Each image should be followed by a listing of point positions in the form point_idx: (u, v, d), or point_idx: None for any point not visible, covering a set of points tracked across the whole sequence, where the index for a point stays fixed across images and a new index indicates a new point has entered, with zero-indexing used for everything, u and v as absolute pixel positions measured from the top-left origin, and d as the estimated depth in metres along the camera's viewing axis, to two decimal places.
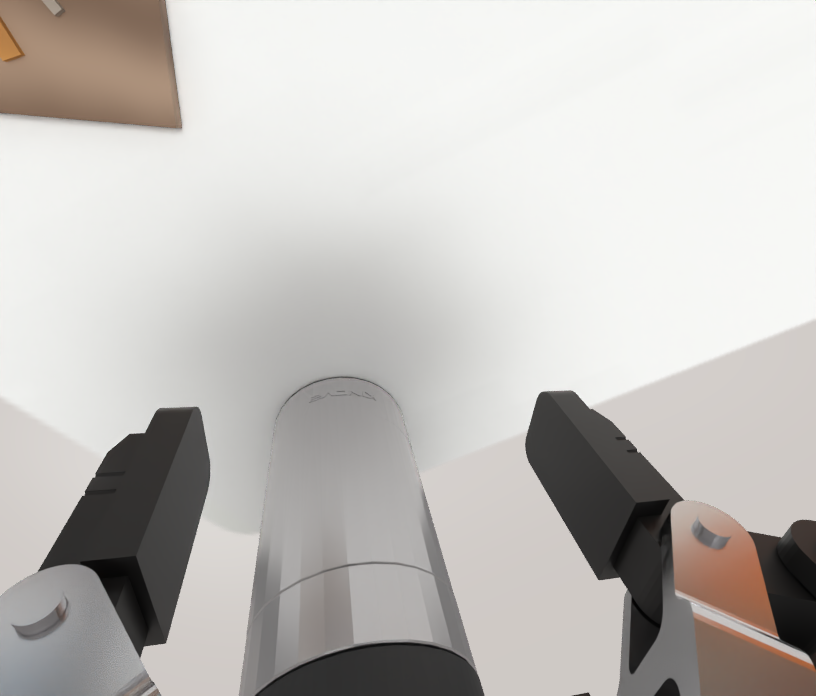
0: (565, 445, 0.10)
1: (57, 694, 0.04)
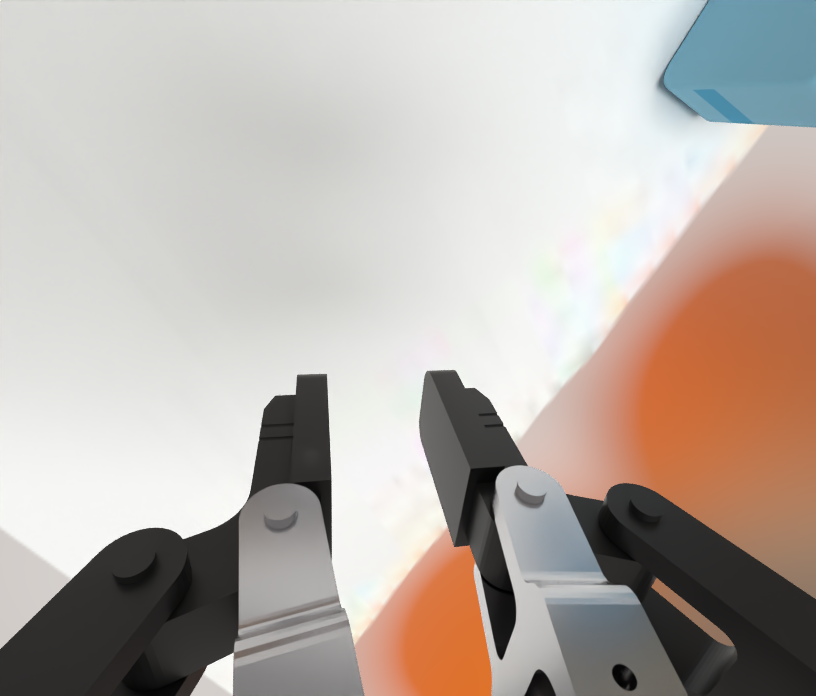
0: (438, 420, 0.10)
1: (280, 581, 0.06)
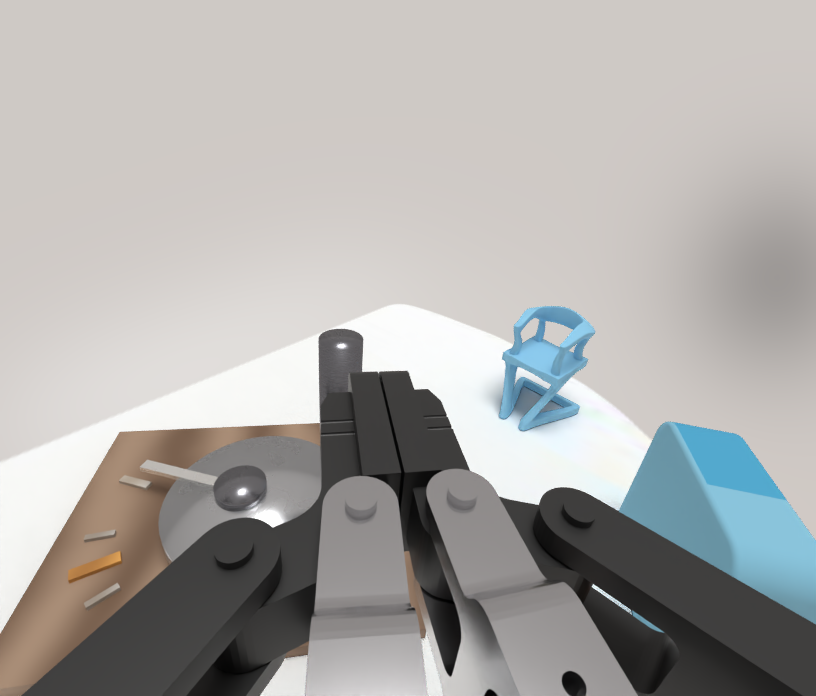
0: None
1: (355, 568, 0.06)
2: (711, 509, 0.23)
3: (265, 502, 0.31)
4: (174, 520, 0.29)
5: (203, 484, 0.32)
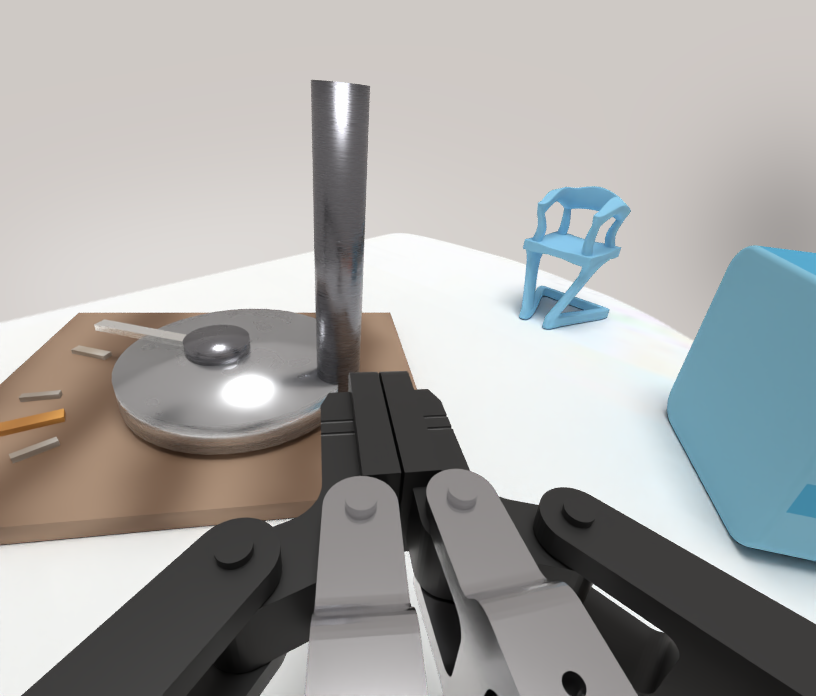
0: None
1: (355, 568, 0.06)
2: None
3: (248, 359, 0.25)
4: (132, 371, 0.23)
5: (171, 341, 0.26)
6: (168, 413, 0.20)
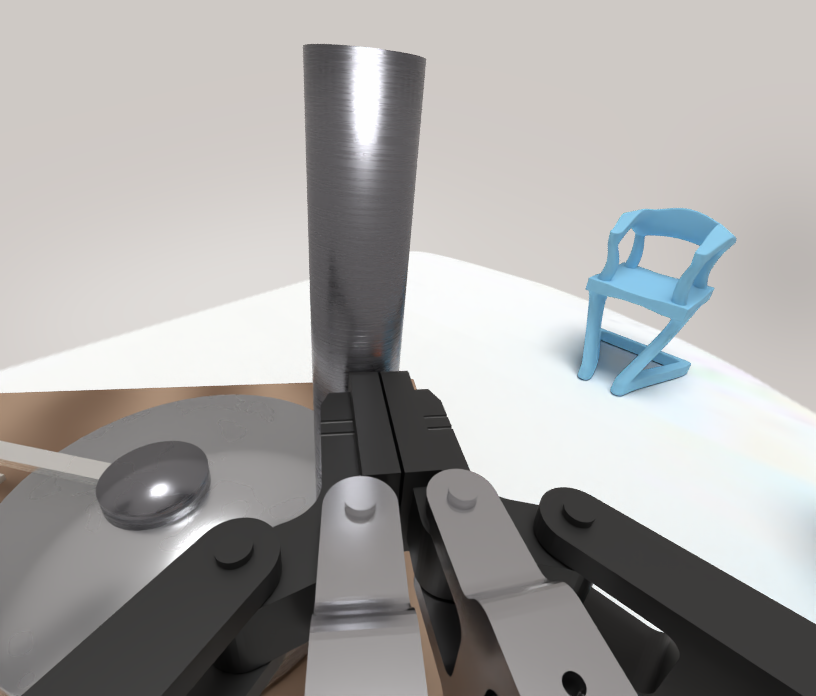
0: None
1: (355, 568, 0.06)
2: None
3: (205, 508, 0.16)
4: (2, 555, 0.14)
5: (82, 478, 0.16)
6: None
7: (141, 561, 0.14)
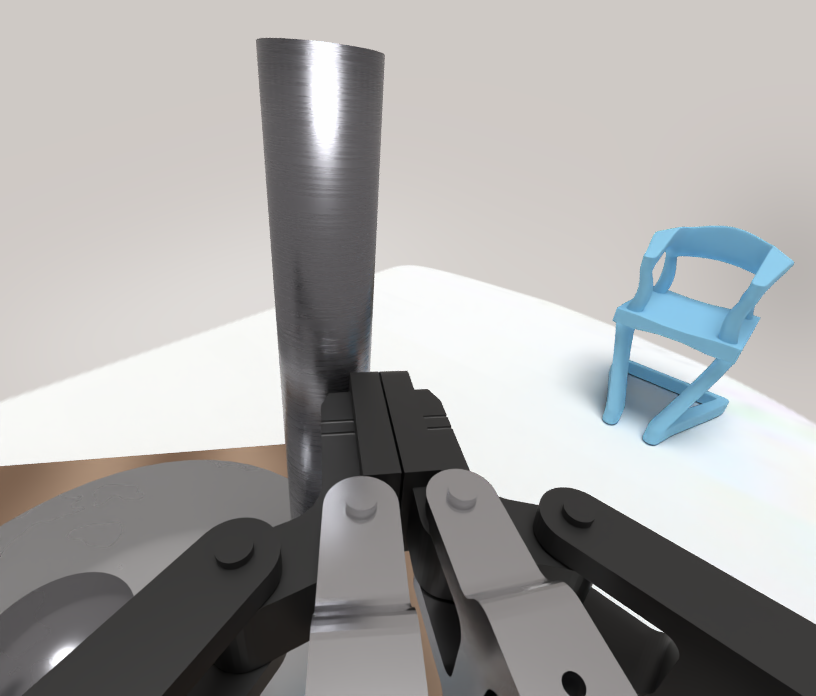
0: None
1: (355, 568, 0.06)
2: None
3: None
4: None
5: None
6: None
7: None
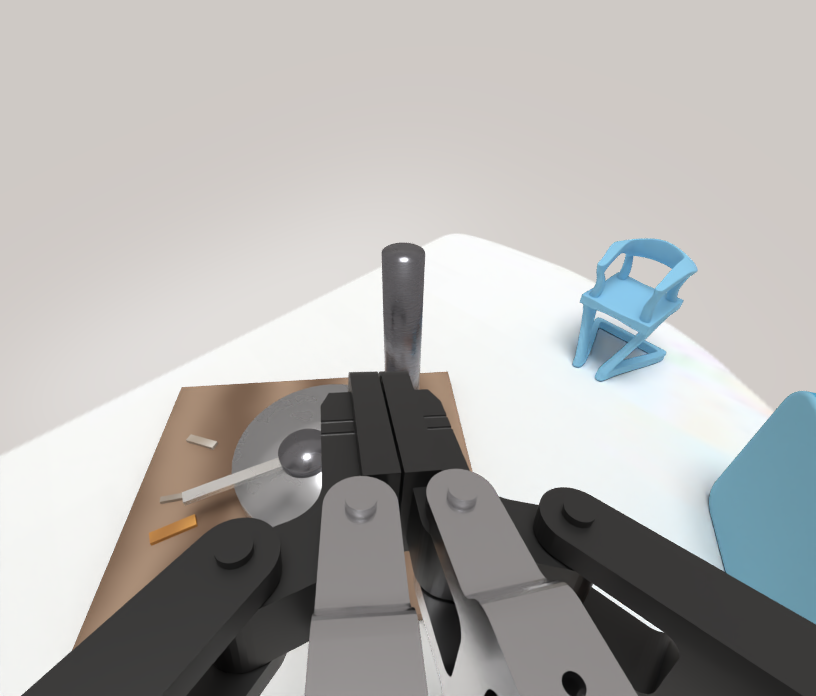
0: None
1: (355, 568, 0.06)
2: None
3: None
4: (277, 513, 0.27)
5: (267, 472, 0.29)
6: None
7: None
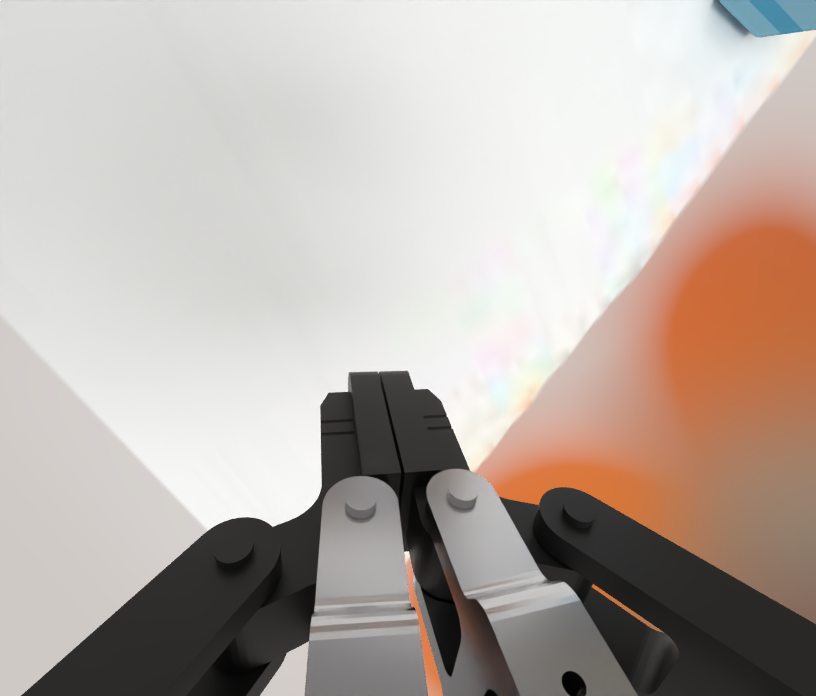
0: None
1: (355, 568, 0.06)
2: None
3: None
4: None
5: None
6: None
7: None
